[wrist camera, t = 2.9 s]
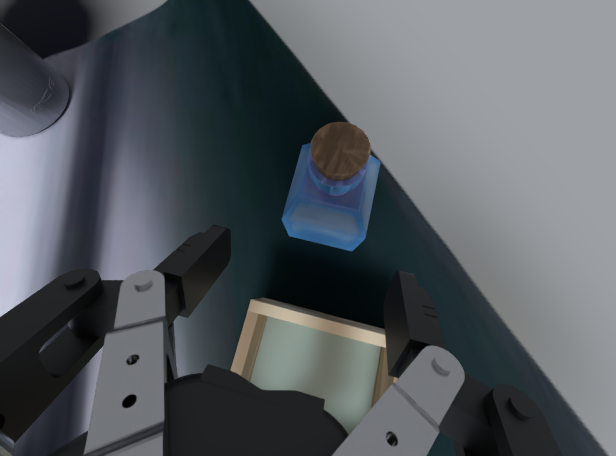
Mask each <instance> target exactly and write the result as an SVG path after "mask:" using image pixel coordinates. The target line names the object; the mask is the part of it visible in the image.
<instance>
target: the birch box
mask: <svg viewBox="0 0 616 456" xmlns="http://www.w3.org/2000/svg"><path fill="white" fill-rule="evenodd" d="M231 371H232V372H236V373H237V374H239V375H240V376H242V377H243V378H245V379H246V380H248V381H249V382H251V383H252V384H254V385H255V386H257V387H258V388H260V389H262V390H296V391H299V392H303V393H306V394H309V395H313V396H316V397H319V398H323V399H325V404H324V410H326V411H327V412H329V413H330V414H331V415H332V416H334V417H335V418H336V419H337V420H338V421H339V422H340V423H341V425H342V426H343V427H344V428H345V430H346V431H347V433H348V434H349V435H350V434H351V432H352V431H353V430H354V429H355V428H356V426H357V425H358V424H359V423H360V422H361V420H362V419H363V418H364V417H365V416H366V414H367V413H368V412H369V411H370V410H371V409H372V407H373V406H374V405H375V404H376V403H377V401H378V400H379V399H380V398H381V397H382V395H383V394H384V393H385V392H386V391H387V389H388V388H389V387H390V386H391V385H392V384H393V383H395V382H396V381H397V380H398V378H395V377H392V376H388V366H387V353H386V339H385V329H382V328H378V327H375V326H371V325H367V324H363V323H359V322H356V321H352V320H348V319H344V318H340V317H337V316H333V315H329V314H325V313H321V312H318V311H314V310H310V309H306V308H302V307H299V306H295V305H291V304H287V303H284V302H280V301H276V300H272V299H268V298H258V299H251V302H250V305H249V309H248V312H247V316H246V319H245V322H244V326H243V329H242V333H241V336H240V340H239V343H238V347H237V350H236V353H235V357H234V360H233V364H232V367H231Z"/></svg>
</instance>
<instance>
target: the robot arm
mask: <svg viewBox="0 0 616 456" xmlns="http://www.w3.org/2000/svg"><path fill="white" fill-rule="evenodd" d="M68 98H69V87H68V84H67V81H66V80H65V79H64V77H63V76H62V75H61V74H59V73H58V72H57V71H56V70H55V69H53V68H52V67H51V66H50V65H49V64H48V63H46V62H45V61H44V60H43V59H42V58H40V57H39V56H38V55H37V54H36V53H35V52H33V51H32V50H31V49H30V48H29V47H27V46H26V45H25V44H24V43H23V42H22V41H21V40H19V39H18V38H17V37H16V36H15V35H14V34H12V33H11V32H10V31H9V30H7V29H6V28H5V27H4V26H3V25H2V24H0V133H2V134H4V135H7V136H11V137H23V136H29V135H32V134H35V133H38V132H40V131H41V130H43V129H45V128H47V127H48V126H50V125H51V124H52V123H53V122H55V120H56V119H57V118H58V117H59V116H60V115H61V114H62V112H63V111H64V109H65V107H66V105H67V102H68ZM230 256H231V233H230V229H229V228H225V227H221V226H217V225H212V226H211V227H210V228H209V229H208V230H207V231H206V232H205V233H202V232H200V233H198V234H195V235H193V236H191V237H189V238H188V239H187V240H186V241H185V242H184V243H183V244H182V245H180V246H179V247H178V248H177V250H175V251H174V252H173V253H171V254H170V255H169V256H168V257H167V258H166V259H165V260H164V261H163V262H161V263H160V264H159V265H158V266H157V267H156V268H155V269H154V270H146V271H140V272H137V273H135V274H132V275H130V276H129V277H127V278H126V279H125V280H101V278H100V275H99V273H98V272H97V271H95V270H92V269H79V270H74V271H71V272H68V273H65V274H63V275H61V276H59V277H58V278H56V279H55V280H53V281H52V282H50V283H49V284H47V285H46V286H45V287H43V288H42V289H40V290H39V291H37V292H36V293H34V294H33V295H32V296H30V297H29V298H27V299H26V300H24V301H23V302H21V303H20V304H19V305H17V306H16V307H14V308H13V309H11V310H10V311H8V312H7V313H6V314H4V315H3V316H1V317H0V456H12V455H13V452H14V443H15V442H16V441H17V440H18V439H19V438H20V437H21V436H22V434H23V433H24V432H25V431H26V430H27V429H28V428H29V427H30V426H31V425H32V423H33V422H34V421H35V420H36V419H37V418H38V417H39V416H40V415H41V414H42V412H43V411H44V410H45V409H46V408H47V407H48V406H49V405H50V404H51V403H52V401H53V400H54V399H55V398H56V397H57V396H58V395H59V394H60V393H61V392H62V390H63V389H64V388H65V387H66V386H67V385H68V384H69V383H70V382H71V381H72V380H73V378H74V377H75V376H76V375H77V374H78V373H79V372H80V371H81V370H82V369H83V367H84V366H85V365H86V364H87V363H88V362H89V361H90V360H91V359H92V358H93V356H94V355H95V354H96V353H97V352H98V351H99V350H100V349H101V348H102V347H103V345H104V347H103V352H102V358H101V363H100V369H99V374H98V380H97V385H96V391H95V396H94V402H93V407H92V413H91V418H90V424H89V430H88V431H87V432H85V433H83V434H82V435H80V436H79V437H77V438H75V439H74V440H72V441H70V442H69V443H67V444H65V445H64V446H62V447H60V448H59V449H57V450H55V451H54V452H52V453H50V454H49V455H47V456H426V455H427V453H428V452H429V450H430V448H431V446H432V444H433V443H434V441H435V439H436V437H437V435H438V433H439V431H440V432H441V433H443V434H444V435H446V436H447V437H449V438H450V439H452V440H453V441H454V445H455V450H456V455H457V456H562V454H561V452H560V450H559V448H558V446H557V444H556V441H555V439H554V437H553V435H552V433H551V431H550V429H549V427H548V425H547V422H546V420H545V418H544V416H543V414H542V413H541V411H540V410H539V408H538V407H537V406H536V404H535V403H534V402H533V401H532V400H531V399H530V398H529V397H528V396H527V395H526V394H524V393H523V392H522V391H520V390H518V389H517V388H515V387H513V386H510V385H507V384H498V385H496V386H495V387H494V388H493V389H491V388H489V387H488V386H486V385H484V384H482V383H480V382H479V381H477V380H475V379H473V378H471V377H470V376H468V375H467V374H465V373H464V371H463V368H462V366H461V365H460V363H459V362H458V360H457V359H456V358H455V357H454V356H453V355H452V354H451V353H449V352H448V351H447V349H446V346H445V342H444V339H443V336H442V332H441V329H440V325H439V322H438V319H437V315H436V312H435V310H434V305H433V302H432V298H431V297H430V296H429V294H428V293H427V292H426V290H425V289H424V288H421V287H418V285H417V281H416V277H415V275H414V274H411V273H407V272H403V271H399V270H397V271H396V272H395V274H394V276H393V278H392V280H391V282H390V285H389V287H388V289H387V291H386V294H385V297H384V302H383V311H384V325H385V339H386V353H387V366H388V376H392V377H395V378H398V380H397V381H396V382H395V383H393V384H392V385H391V386H390V387H389V388H388V389H387V391H386V392H385V393H384V394H383V395H382V397H381V398H380V399H379V400H378V401H377V403H376V404H375V405H374V406H373V407H372V409H371V410H370V411H369V412H368V413H367V414H366V416H365V417H364V418H363V419H362V420H361V422H360V423H359V424H358V425H357V426H356V428H355V429H354V430H353V431H352V432H351V434H350V435H349V434H348V433H347V431H346V430H345V428H344V427H343V426H342V425H341V423H340V422H339V421H338V420H337V419H336V418H335V417H334V416H332V415H331V414H330V413H329V412H327V411H326V410H324V404H325V399H323V398H319V397H316V396H313V395H309V394H306V393H303V392H299V391H296V390H262V389H260V388H258V387H257V386H255V385H254V384H252V383H251V382H249V381H248V380H246V379H245V378H243V377H242V376H240V375H239V374H237V373H236V372H232V371H229V370H226V369H222V368H219V367H216V366H212V365H209V364H208V365H207V367H206V368H205V370H204V372H203V373H198V374H191V375H186V376H183V377H180V378H178V376H177V368H176V355H175V337H174V323H173V321H174V320H175V319H176V317H177V316H178V315H180V316H183V317H187V318H188V317H189V316H190V314H191V313H192V312H193V310H194V309H195V308H196V306H197V305H198V304H199V302H200V301H201V300H202V298H203V297H204V296H205V294H206V293H207V292H208V290H209V289H210V288H211V286H212V285H213V284H214V282H215V281H216V280H217V278H218V277H219V276H220V274H221V273H222V272H223V270H224V269H225V268H226V266H227V265H228V263H229V260H230ZM66 324H68V325H69V327H68V328H67V329H66V330H65V331H64V332H63V333H61V334H60V335H59V336H58V337H57V338H56V339H55V340H54V341H53V342H51V343H50V344H49V345H48V346H47V347H46V348H45V349H44V350H42V351H41V352H40V353H39V351H40V349H41V347H42V346H43V345H44V343H45V342H46V341H48V340H49V339H50V338H51V337H52V336H53V335H54V334H56V333H57V332H58V331H59V330H60V329H61V328H62V327H64V326H65V325H66Z"/></svg>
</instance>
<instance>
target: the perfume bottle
mask: <svg viewBox="0 0 616 456" xmlns="http://www.w3.org/2000/svg"><path fill="white" fill-rule="evenodd" d="M379 167H380V161H378V160H377V159H376V158H374V157H373V156H372V155H370V143H369V140H368V137H367V136H366V135H365V134H364V132H363V131H362V130H361V129H360V128H358V127H357V126H355V125H353V124H350V123H347V122H335V123H330V124H327V125H325V126H324V127H322V128H320V129H319V130H318V132H317V133H316V134H315V135H314V137H313V139H312V141H311V143H310V144H306V145H302V149H301V152H300V156H299V159H298V163H297V167H296V170H295V174H294V177H293V181H292V184H291V188H290V191H289V195H288V198H287V202H286V205H285V209H284V212H283V216H282V221H283V223H284V226H285V228H286V230H287V232H288V234H289V236H291V237H295V238H299V239H303V240H307V241H311V242H316V243H320V244H324V245H328V246H332V247H336V248H340V249H344V250H349V251H353V250H354V249H355V248H356V247H357V246H358V245H359V244H360V243H361V242H362V241H363V240H364V239H365V237H366V232H367V227H368V222H369V217H370V212H371V207H372V202H373V197H374V192H375V187H376V182H377V177H378V172H379Z"/></svg>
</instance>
